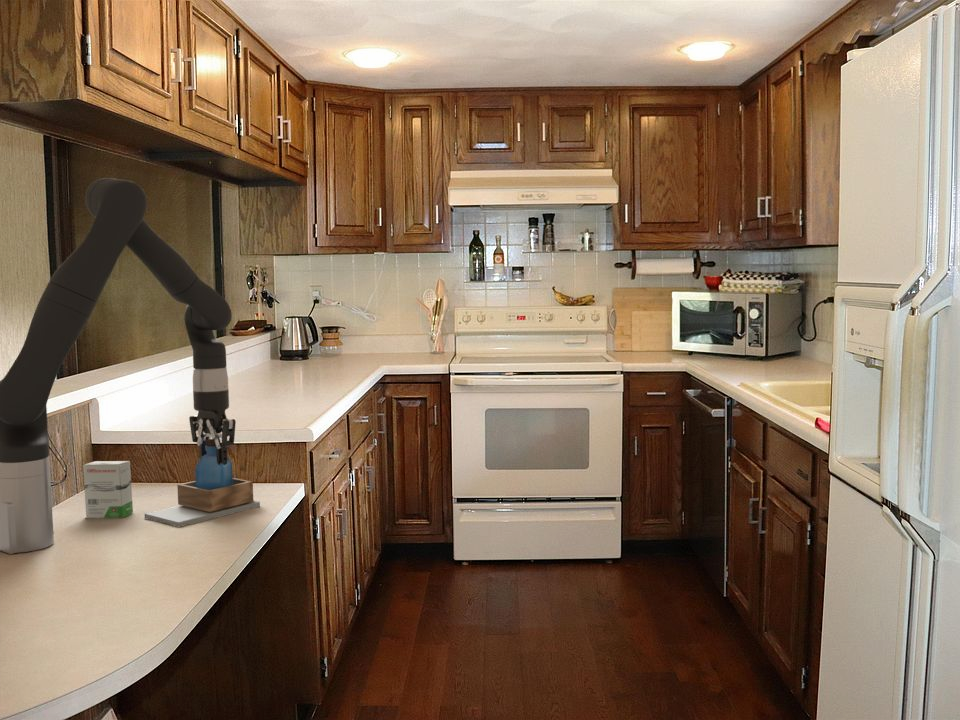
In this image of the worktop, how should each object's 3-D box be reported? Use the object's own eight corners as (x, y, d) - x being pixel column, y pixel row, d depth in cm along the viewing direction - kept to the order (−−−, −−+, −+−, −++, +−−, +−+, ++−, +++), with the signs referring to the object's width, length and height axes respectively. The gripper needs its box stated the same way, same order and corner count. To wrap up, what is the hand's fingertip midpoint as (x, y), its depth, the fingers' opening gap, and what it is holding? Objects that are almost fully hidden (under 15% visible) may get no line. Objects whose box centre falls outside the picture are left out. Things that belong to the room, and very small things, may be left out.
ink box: (134, 512, 192) (131, 459, 191) (122, 518, 187) (120, 464, 186) (96, 512, 193) (94, 459, 192) (84, 518, 188) (81, 464, 187)
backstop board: (178, 527, 180) (177, 503, 179) (144, 518, 187) (143, 495, 187) (259, 506, 196) (259, 484, 196) (225, 498, 204) (224, 477, 204)
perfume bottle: (224, 496, 191) (222, 442, 190) (196, 496, 191) (194, 442, 190) (232, 489, 197) (231, 437, 196) (205, 490, 197) (203, 437, 196)
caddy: (209, 511, 186) (208, 491, 186) (178, 504, 193) (177, 484, 193) (253, 501, 195) (252, 481, 195) (221, 494, 202) (220, 475, 202)
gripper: (245, 388, 191) (247, 464, 192) (205, 384, 199) (208, 457, 201) (216, 392, 185) (219, 470, 186) (176, 388, 193) (180, 462, 195)
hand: (213, 463), depth 193 cm, fingers closed on perfume bottle, 5 cm apart
